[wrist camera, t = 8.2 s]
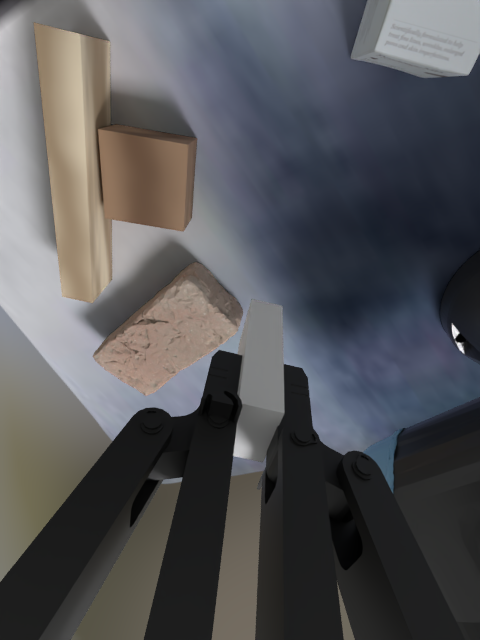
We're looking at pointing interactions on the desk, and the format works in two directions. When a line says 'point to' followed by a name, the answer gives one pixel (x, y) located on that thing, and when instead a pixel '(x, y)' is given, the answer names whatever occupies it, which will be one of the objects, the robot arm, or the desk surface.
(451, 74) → the skincare box
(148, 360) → the brick
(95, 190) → the board
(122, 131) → the block
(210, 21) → the desk surface
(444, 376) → the desk surface
